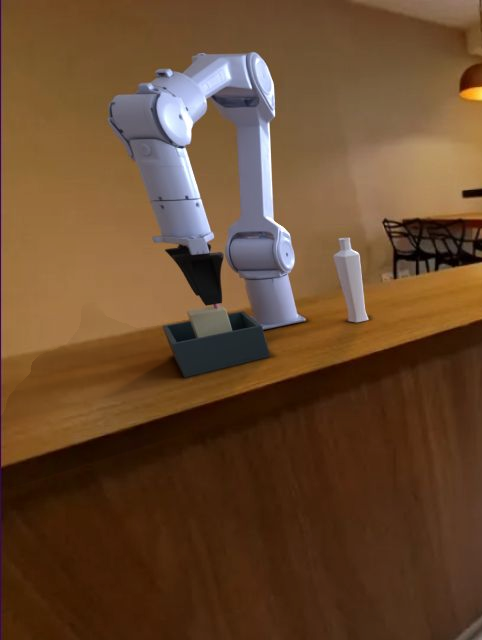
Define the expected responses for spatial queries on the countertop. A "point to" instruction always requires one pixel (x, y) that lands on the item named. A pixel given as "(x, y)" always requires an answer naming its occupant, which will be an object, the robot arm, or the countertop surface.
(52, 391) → the countertop surface
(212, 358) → the bin
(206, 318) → the juice carton
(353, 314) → the perfume bottle
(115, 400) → the countertop surface
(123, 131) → the robot arm
